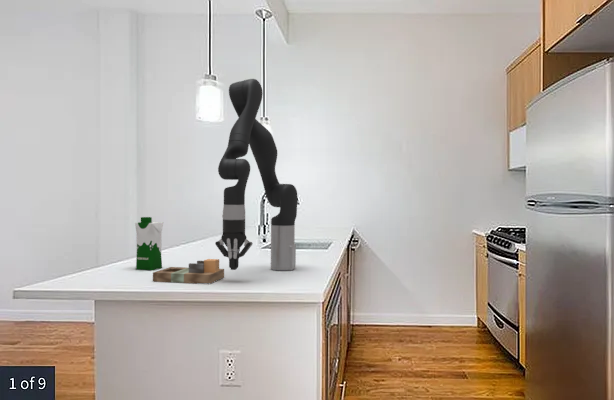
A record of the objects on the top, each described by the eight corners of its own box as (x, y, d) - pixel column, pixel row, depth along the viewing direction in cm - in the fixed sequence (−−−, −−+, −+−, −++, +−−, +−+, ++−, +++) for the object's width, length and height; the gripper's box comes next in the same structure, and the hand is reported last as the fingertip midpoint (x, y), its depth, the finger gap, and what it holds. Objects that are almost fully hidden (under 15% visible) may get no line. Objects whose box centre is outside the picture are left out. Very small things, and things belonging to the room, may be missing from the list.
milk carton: (132, 269, 213) (132, 217, 212) (146, 266, 221) (146, 216, 221) (152, 271, 210) (152, 217, 209) (165, 267, 218) (166, 216, 218)
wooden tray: (224, 277, 196) (224, 260, 196) (209, 284, 182) (209, 265, 182) (171, 275, 200) (171, 258, 200) (152, 281, 186) (152, 263, 186)
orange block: (219, 271, 191) (219, 259, 191) (215, 272, 187) (215, 260, 187) (208, 270, 192) (208, 258, 192) (203, 272, 188) (203, 260, 188)
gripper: (256, 218, 190) (255, 268, 190) (219, 217, 192) (218, 267, 193) (249, 219, 183) (249, 271, 183) (211, 218, 185) (211, 270, 185)
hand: (233, 269), depth 188 cm, fingers closed
